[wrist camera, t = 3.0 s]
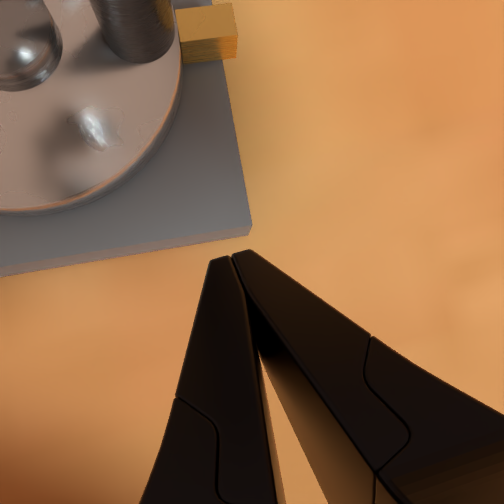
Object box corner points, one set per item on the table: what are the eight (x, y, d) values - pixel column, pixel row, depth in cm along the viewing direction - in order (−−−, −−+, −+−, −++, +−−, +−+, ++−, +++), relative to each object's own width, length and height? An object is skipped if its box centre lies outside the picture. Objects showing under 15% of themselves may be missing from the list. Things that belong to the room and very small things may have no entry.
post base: (247, 235, 20) (263, 200, 13) (-99, 293, 18) (-270, 286, 12) (193, -65, 21) (183, -228, 15) (-132, -31, 20) (-302, -193, 13)
